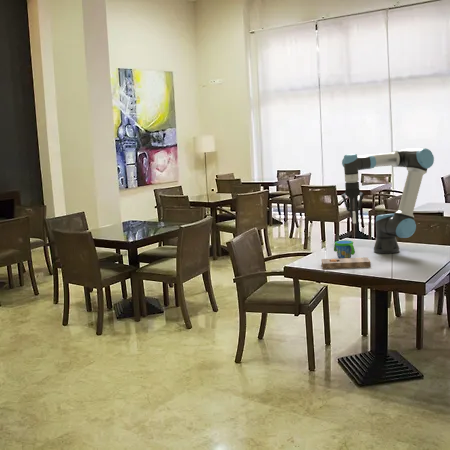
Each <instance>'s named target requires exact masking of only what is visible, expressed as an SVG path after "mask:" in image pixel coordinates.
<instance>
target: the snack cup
mask: <svg viewBox="0 0 450 450" xmlns="http://www.w3.org/2000/svg"><path fill="white" fill-rule="evenodd" d="M333 251H334V252H336V255H337V258H352V256H354V255H356V254H355V253H356V251H355V246H354V241H352V240H348V239H347V240H344V239H343V240H336V241H334V245H333Z"/></svg>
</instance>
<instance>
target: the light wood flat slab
mask: <svg viewBox="0 0 450 450" xmlns="http://www.w3.org/2000/svg"><path fill="white" fill-rule="evenodd" d="M332 259H333V258H321V266H322V269H323V270H325V269H328V270H329V269H349V268H350V269H353V268H354V269H355V268H371V265H372V264H371V262H372V261H371V260H370V259H369V257H368V256H367V257H364V256H363V257H351V258H338V257H337V258H334V259H335V260H336V261H337V262H330V261H331V260H332Z"/></svg>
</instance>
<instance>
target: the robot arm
mask: <svg viewBox="0 0 450 450" xmlns="http://www.w3.org/2000/svg"><path fill="white" fill-rule="evenodd" d="M434 161H435V156H434V154H433V152H432V151H431V149H428V148H424V147H418V148H404V149H401V150H399V149H398V150H392V151H391V152H386V153H385V152H384V153H378V154H377V153H373V154H363V155H362V154H361V155H358V154H356V153H350V154H349V153H347V154H344V156H343V159H342V160H341V165H342V167H343V170H344V172H343V173H344V182H345V183H344V186H345V187H344V188H345V190H344V193H343V194H341V195H340V197H341V198H342V199H343V203H344V205H345V210H346V211H347V212H349V213H350V218H352V224H355V225H356V224H357V218H358V217H359V216H358V215H359V214H358V212H359V211H361V210H362V209H361V208H362V203H363V200H364V199H363V198H364V196H365V193H363V192H362V191H361V190H360V182H359V171H363V170H372V169H374V168H378V167H380V168H381V167H390V166H391V167H394V168H397V167H398V168H406V170H407V176H406V179H405V181H404V182H405V183H404V187H403V190H402V194H401V199H400V203H399V205H398V209H397V210H396V211H395V212H394V213H387V214H386V213H384V214H378V215H377V216H376V217H375V232H376V239H375V243H374V245H373V246H374V247H373V252H374V253H377V254H395V253H399V252H400V246H399V243H398V240H397V237H398V238H400V239H407V238H410V237H412V236H413V234H415V232H416V229H417V224H416V221H415V216H414V210H415V207H416V203H417V200H418V196H419V192H420V188H421V184H422V180H423V176H424V175H425V174H427V172H428V169H430V168H431V167H433V166H434V164H435V162H434ZM358 196H359V200H358ZM347 197H348V200H349V204H348V201H347ZM357 200H358V201H357ZM353 207H354V211H353Z"/></svg>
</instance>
